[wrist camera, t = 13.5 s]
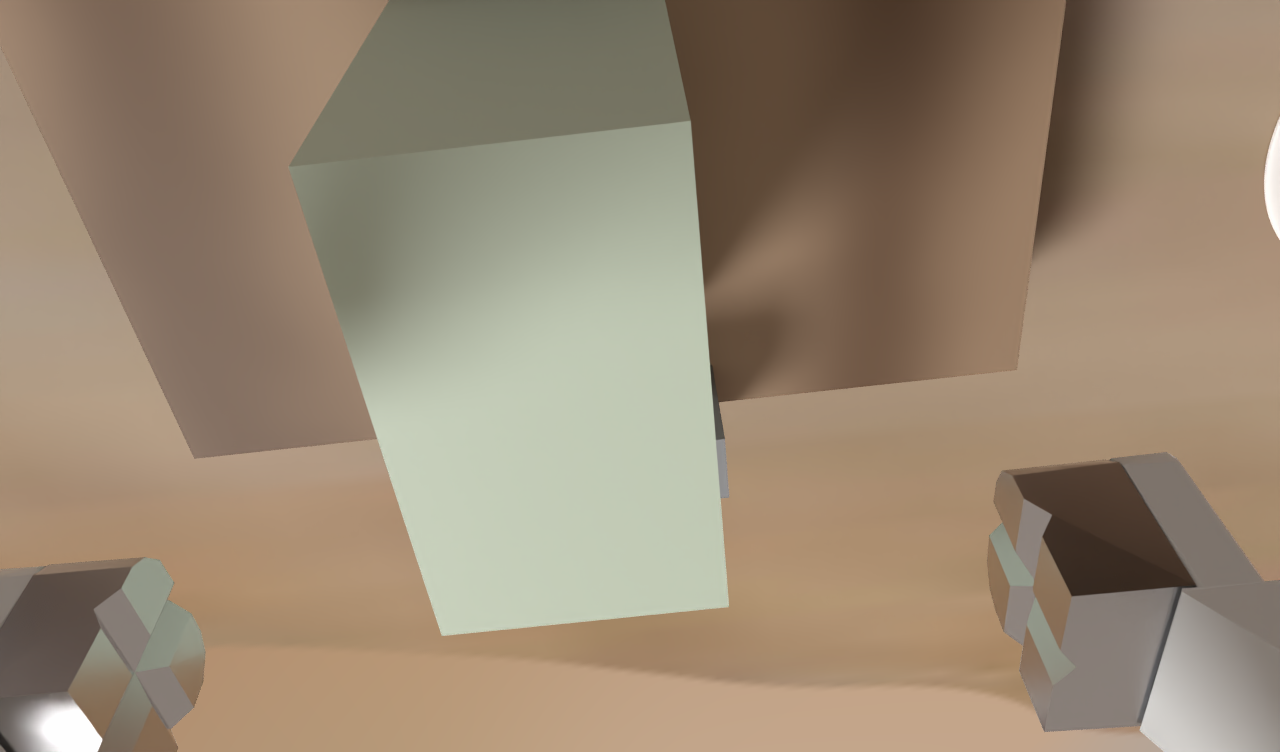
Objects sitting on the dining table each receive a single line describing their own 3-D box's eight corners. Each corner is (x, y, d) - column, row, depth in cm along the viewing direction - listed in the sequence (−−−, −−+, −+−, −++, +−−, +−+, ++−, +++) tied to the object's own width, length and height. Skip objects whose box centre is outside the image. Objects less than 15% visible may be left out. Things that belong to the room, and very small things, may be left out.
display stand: (1036, -340, 17) (1196, -340, 12) (971, 316, 24) (1057, 462, 20) (-10, -205, 17) (-218, -160, 13) (240, 396, 25) (163, 557, 20)
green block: (651, -61, 16) (690, 121, 10) (685, 305, 20) (729, 606, 14) (408, -32, 17) (288, 166, 10) (489, 326, 21) (441, 636, 14)
